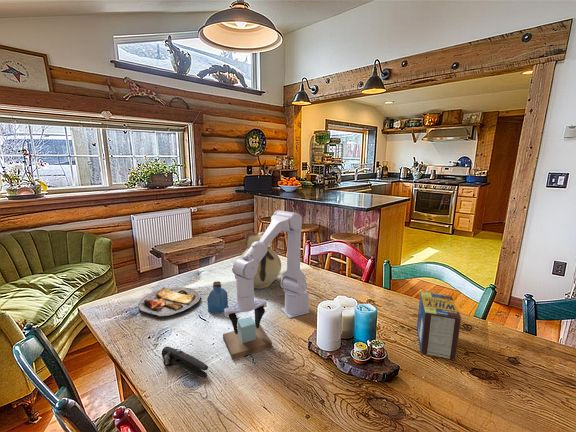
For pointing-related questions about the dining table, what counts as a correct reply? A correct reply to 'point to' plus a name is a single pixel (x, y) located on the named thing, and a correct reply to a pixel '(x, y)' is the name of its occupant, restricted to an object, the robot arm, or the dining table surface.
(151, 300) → the food plate
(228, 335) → the walnut block
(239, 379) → the dining table surface
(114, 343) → the dining table surface
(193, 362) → the can opener
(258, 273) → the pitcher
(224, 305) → the perfume bottle
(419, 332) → the protein box
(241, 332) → the blue block
